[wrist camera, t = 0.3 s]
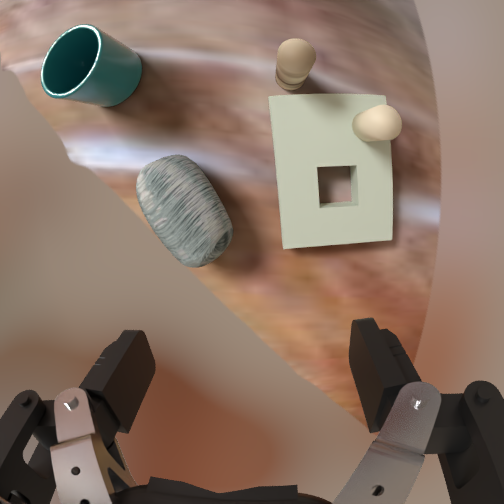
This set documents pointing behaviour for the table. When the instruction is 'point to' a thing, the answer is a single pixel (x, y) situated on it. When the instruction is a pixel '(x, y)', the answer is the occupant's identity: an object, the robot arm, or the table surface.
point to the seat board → (333, 154)
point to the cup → (90, 68)
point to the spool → (184, 210)
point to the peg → (294, 63)
